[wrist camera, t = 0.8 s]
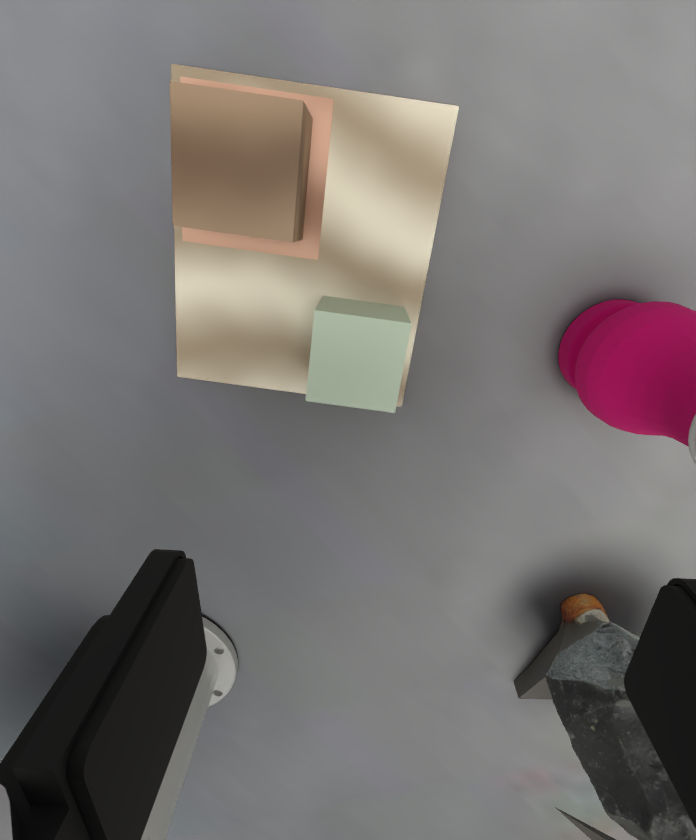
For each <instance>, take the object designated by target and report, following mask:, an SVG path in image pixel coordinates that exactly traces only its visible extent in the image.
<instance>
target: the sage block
mask: <svg viewBox="0 0 696 840" xmlns="http://www.w3.org/2000/svg"><path fill="white" fill-rule="evenodd" d="M411 324H412V323H411V321H410V319H409V316H408V314H407V312H406V310H405V307H403V306H395V305H388V304H381V303H374V302H367V301H359V300H352V299H345V298H338V297H331V296H322V298H321V300H320V301H319V303H318V305H317V307H316V308H315V311H314V321H313V331H312V341H311V351H310V361H309V371H308V381H307V391H306V401H309V402H317V403H324V404H332V405H339V406H347V407H354V408H362V409H369V410H377V411H384V412H391V413H395V411H396V405H397V400H398V394H399V389H400V384H401V378H402V373H403V368H404V362H405V357H406V351H407V346H408V341H409V335H410V330H411Z"/></svg>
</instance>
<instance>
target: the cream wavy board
mask: <svg viewBox="0 0 696 840" xmlns="http://www.w3.org/2000/svg"><path fill="white" fill-rule="evenodd" d="M171 81H174V82H180V83H187V84H194V85H201V86H208V87H214V88H221V89H228V90H235V91H242V92H248V93H255V94H262V95H269V96H276V97H282V98H289V99H296V100H303V101H304V103H305V104H306V106H307V108H308V110H309V112H310V114H311V116H312V118H313V123H312V135H311V147H310V159H309V170H308V182H307V194H306V206H305V218H304V230H303V240H300V241H296V242H293V243H292V242H285V241H277V240H270V239H263V238H256V237H249V236H242V235H235V234H228V233H221V232H214V231H206V230H199V229H192V228H185V227H178V226H174V239H175V290H176V341H177V377H184V378H191V379H199V380H206V381H213V382H221V383H228V384H236V385H243V386H251V387H258V388H266V389H273V390H280V391H288V392H295V393H303V394H306V391H307V381H308V371H309V361H310V351H311V341H312V331H313V321H314V311H315V308H316V307H317V305H318V303H319V301H320V300H321V298H322V296H331V297H338V298H345V299H352V300H359V301H367V302H374V303H381V304H388V305H395V306H403V307H405V310H406V312H407V314H408V316H409V319H410V321H411V323H412V324H411V330H410V335H409V341H408V346H407V351H406V357H405V362H404V368H403V373H402V378H401V384H400V389H399V394H398V400H397V405H396V406H399V407H402V403H403V397H404V392H405V387H406V382H407V376H408V371H409V366H410V361H411V355H412V350H413V345H414V340H415V334H416V329H417V324H418V319H419V313H420V308H421V303H422V298H423V292H424V287H425V282H426V277H427V272H428V266H429V261H430V256H431V251H432V245H433V240H434V235H435V230H436V224H437V219H438V214H439V209H440V203H441V198H442V193H443V188H444V182H445V177H446V172H447V167H448V161H449V156H450V151H451V146H452V141H453V135H454V130H455V125H456V120H457V114H458V109H459V106H454V105H447V104H440V103H434V102H427V101H420V100H413V99H407V98H400V97H393V96H386V95H379V94H373V93H366V92H359V91H352V90H346V89H339V88H332V87H325V86H318V85H312V84H305V83H298V82H291V81H285V80H278V79H271V78H264V77H258V76H251V75H244V74H237V73H230V72H224V71H217V70H210V69H203V68H197V67H190V66H183V65H176V64H171Z"/></svg>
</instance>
